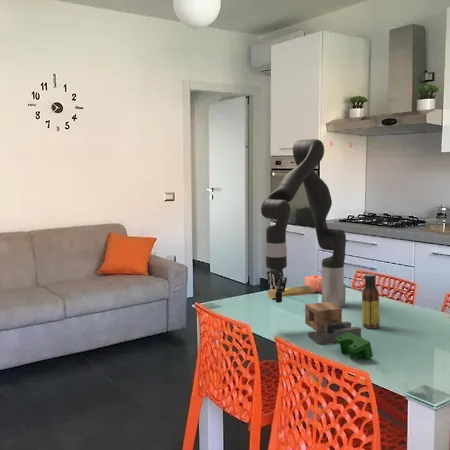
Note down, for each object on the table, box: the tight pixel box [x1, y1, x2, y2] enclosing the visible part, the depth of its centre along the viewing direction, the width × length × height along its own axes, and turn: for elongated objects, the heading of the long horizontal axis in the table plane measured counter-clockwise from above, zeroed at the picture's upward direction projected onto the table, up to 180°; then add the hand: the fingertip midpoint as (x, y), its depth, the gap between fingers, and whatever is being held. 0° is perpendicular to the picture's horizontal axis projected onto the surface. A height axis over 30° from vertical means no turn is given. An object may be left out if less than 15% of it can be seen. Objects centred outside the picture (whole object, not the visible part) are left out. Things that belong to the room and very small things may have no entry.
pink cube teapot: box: [304, 274, 322, 295], centre depth 249 cm, size 8×12×8 cm, turn 13°
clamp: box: [336, 332, 374, 360], centre depth 166 cm, size 12×6×9 cm, turn 14°
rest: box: [307, 321, 362, 346], centre depth 183 cm, size 16×9×4 cm, turn 107°
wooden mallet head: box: [304, 302, 343, 332], centre depth 196 cm, size 10×10×8 cm
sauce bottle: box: [361, 273, 381, 330], centre depth 194 cm, size 7×6×20 cm
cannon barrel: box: [267, 285, 312, 300], centre depth 191 cm, size 16×3×3 cm, turn 107°
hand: (276, 300), depth 190 cm, fingers closed on cannon barrel, 3 cm apart
